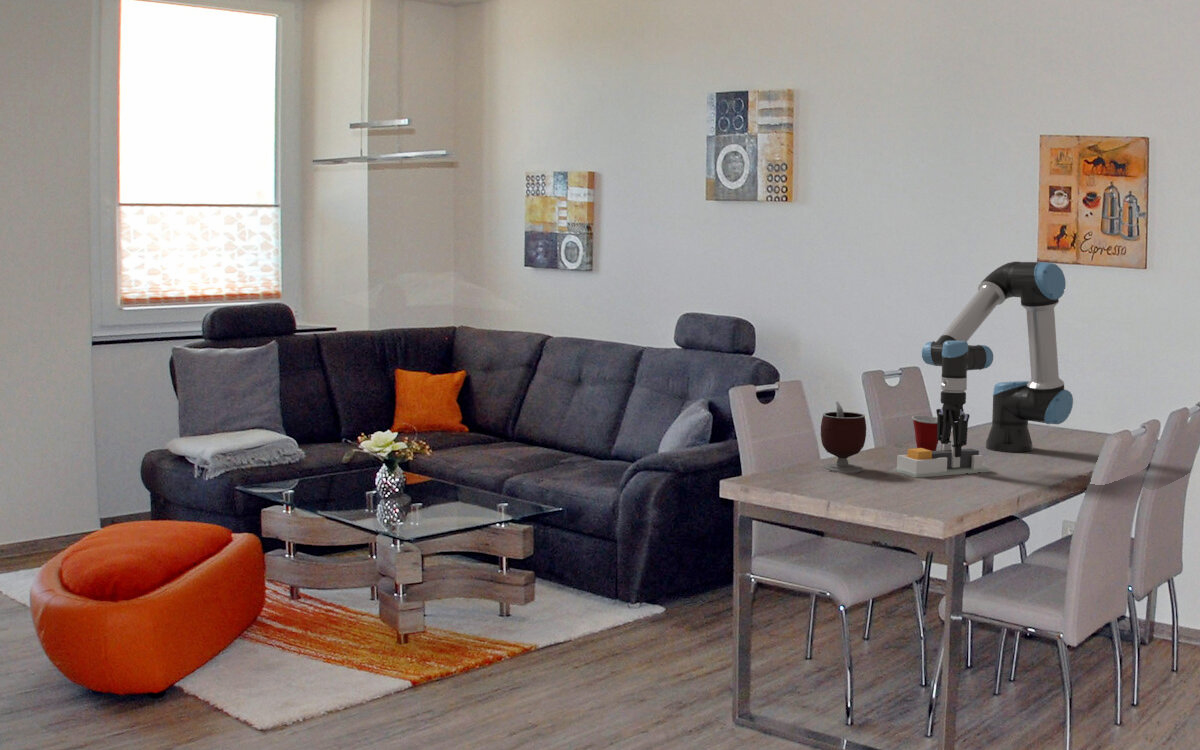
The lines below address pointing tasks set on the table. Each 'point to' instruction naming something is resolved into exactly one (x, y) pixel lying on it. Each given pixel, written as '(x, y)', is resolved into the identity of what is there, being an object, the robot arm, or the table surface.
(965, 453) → the bar
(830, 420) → the mate gourd
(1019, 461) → the table surface
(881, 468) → the table surface
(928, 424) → the plastic cup
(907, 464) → the board
